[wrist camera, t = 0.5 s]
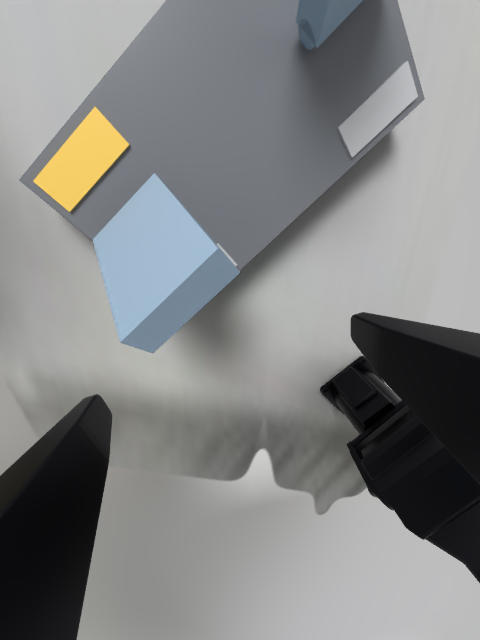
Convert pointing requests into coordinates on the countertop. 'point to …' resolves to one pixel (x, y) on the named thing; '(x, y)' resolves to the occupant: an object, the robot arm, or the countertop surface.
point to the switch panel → (231, 117)
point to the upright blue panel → (321, 19)
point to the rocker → (158, 266)
